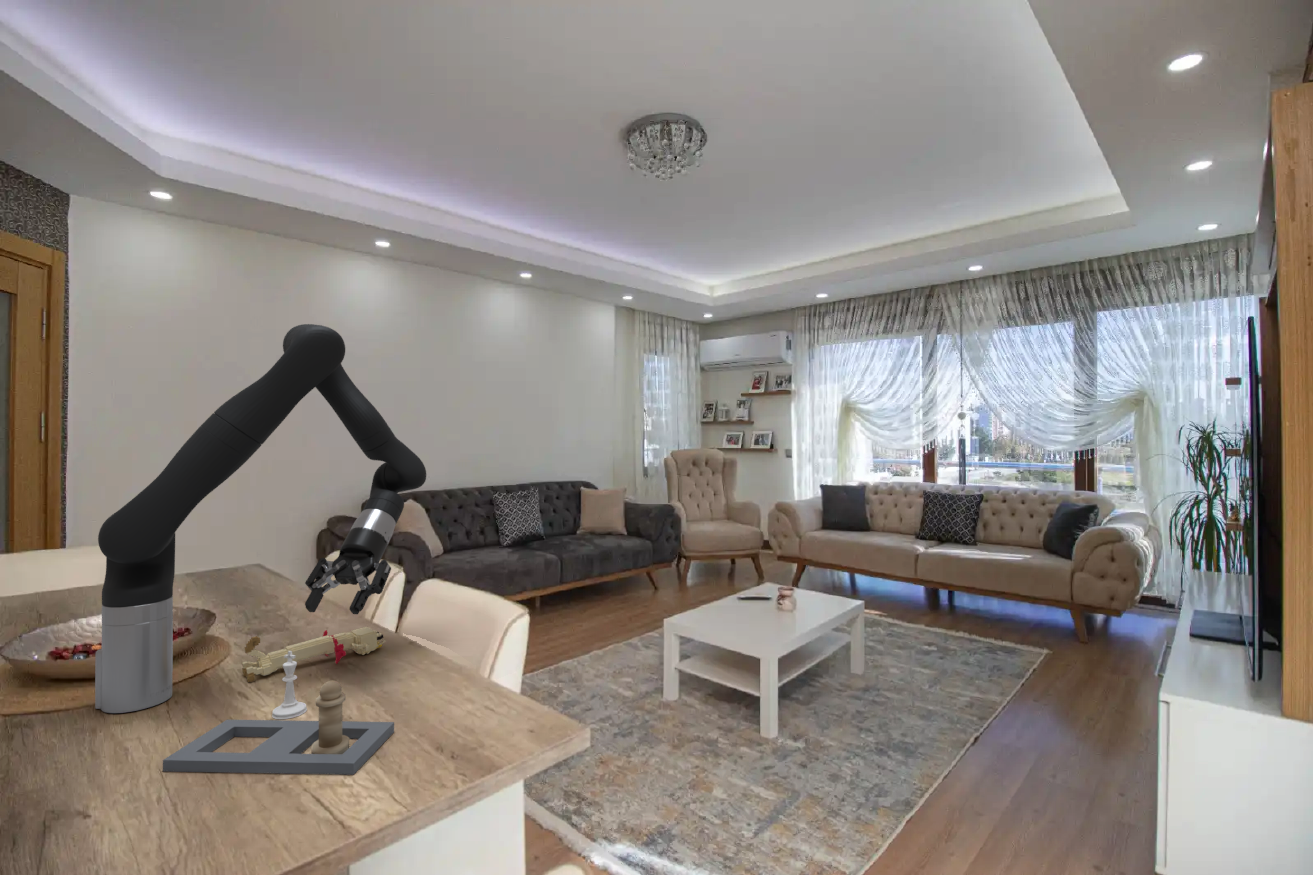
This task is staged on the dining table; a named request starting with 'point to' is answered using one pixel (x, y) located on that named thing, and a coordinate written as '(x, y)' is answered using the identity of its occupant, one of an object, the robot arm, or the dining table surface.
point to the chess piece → (289, 693)
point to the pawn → (330, 721)
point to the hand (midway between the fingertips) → (331, 611)
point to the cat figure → (311, 650)
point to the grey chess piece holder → (279, 748)
